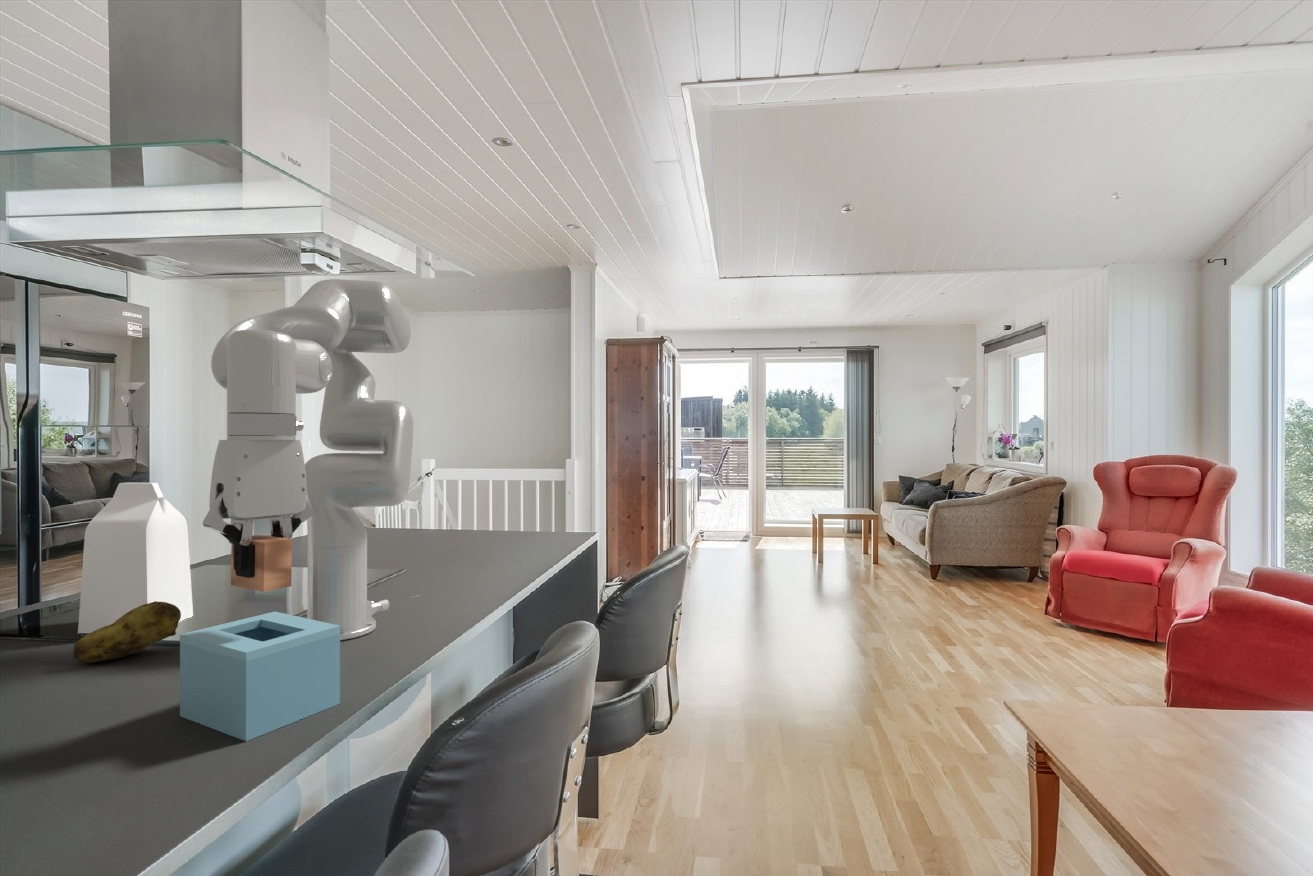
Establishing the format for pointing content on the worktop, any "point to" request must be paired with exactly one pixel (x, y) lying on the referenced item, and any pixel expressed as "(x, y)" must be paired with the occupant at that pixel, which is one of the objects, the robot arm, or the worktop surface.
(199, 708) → the box
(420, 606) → the worktop surface
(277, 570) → the brown wooden block
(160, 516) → the milk
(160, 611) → the potato
